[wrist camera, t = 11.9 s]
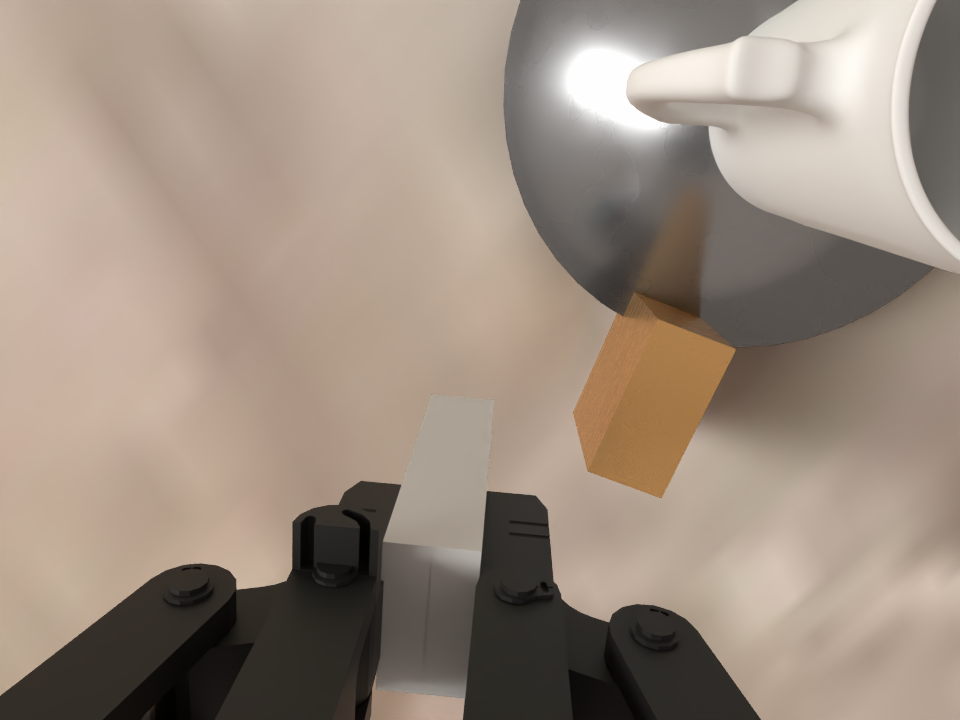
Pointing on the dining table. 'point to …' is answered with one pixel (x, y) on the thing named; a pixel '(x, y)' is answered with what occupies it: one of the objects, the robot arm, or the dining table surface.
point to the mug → (833, 119)
